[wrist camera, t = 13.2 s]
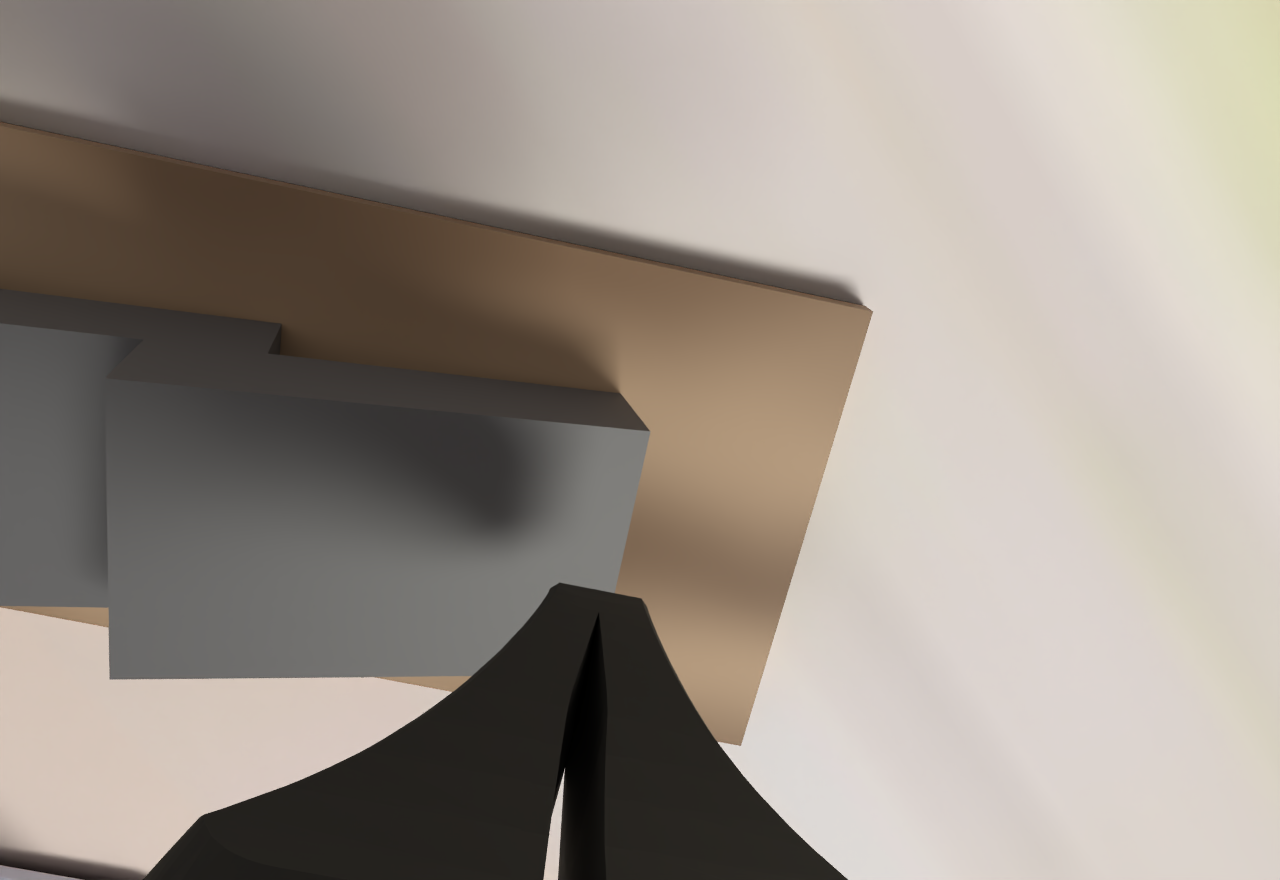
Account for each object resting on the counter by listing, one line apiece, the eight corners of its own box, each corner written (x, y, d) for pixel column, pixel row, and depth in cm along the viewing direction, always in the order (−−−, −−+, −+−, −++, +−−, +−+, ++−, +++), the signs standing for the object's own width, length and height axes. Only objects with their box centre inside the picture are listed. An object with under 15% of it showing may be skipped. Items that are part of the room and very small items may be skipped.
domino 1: (267, 353, 13) (-387, 279, 11) (254, 610, 15) (-317, 600, 12) (281, 323, 15) (-278, 253, 13) (268, 556, 17) (-229, 537, 14)
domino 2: (650, 431, 14) (104, 378, 11) (596, 675, 15) (109, 679, 13) (620, 393, 15) (143, 339, 13) (574, 615, 17) (143, 608, 14)
